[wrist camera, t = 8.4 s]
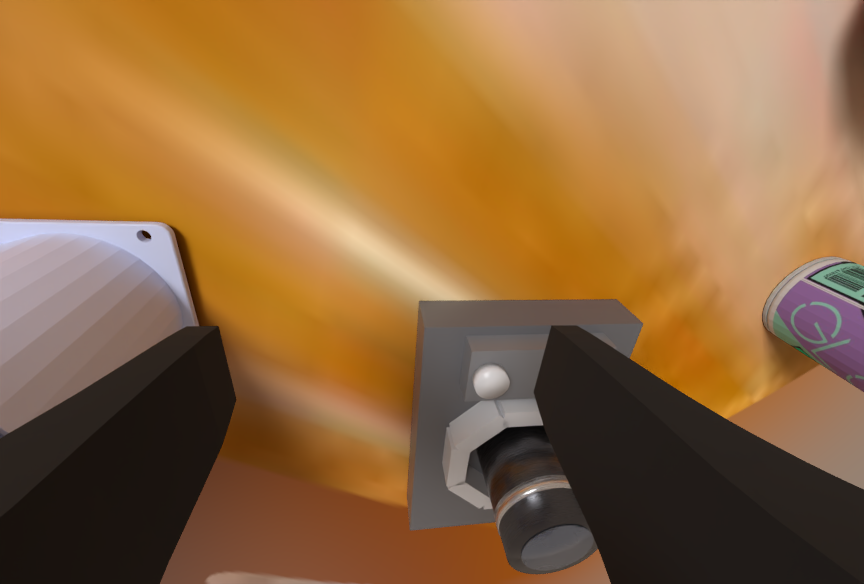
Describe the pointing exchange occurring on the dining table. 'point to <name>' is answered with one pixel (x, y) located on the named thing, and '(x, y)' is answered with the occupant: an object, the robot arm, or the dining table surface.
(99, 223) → the robot arm
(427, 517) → the camera body
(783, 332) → the spray can
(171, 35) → the dining table surface
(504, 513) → the lens
